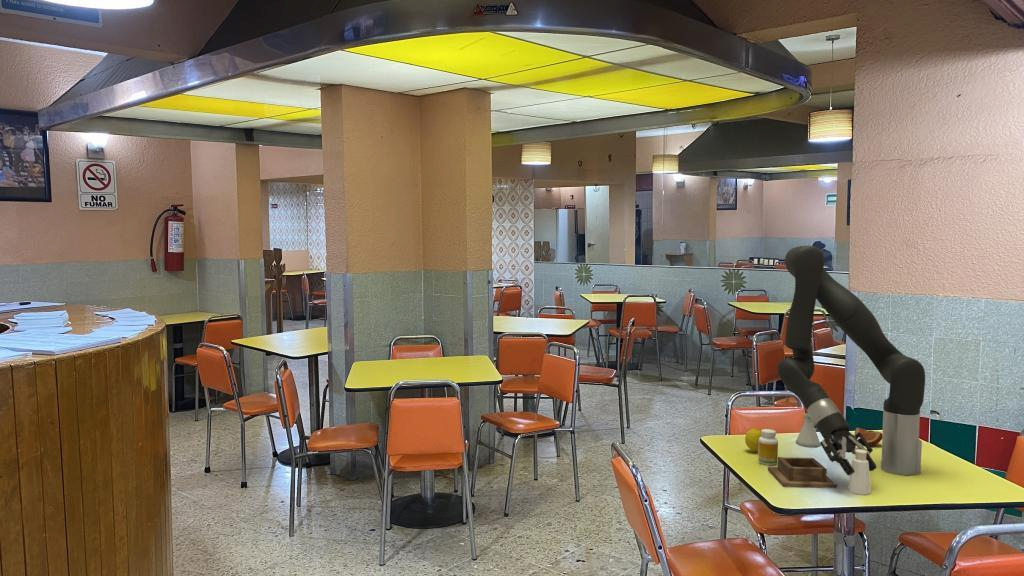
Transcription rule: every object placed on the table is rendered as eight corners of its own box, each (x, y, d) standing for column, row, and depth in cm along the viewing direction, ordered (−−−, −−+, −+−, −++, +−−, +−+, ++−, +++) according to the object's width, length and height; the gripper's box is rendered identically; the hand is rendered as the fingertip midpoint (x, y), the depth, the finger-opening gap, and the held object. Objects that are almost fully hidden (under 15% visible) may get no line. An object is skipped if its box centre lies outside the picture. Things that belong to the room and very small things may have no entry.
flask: (791, 442, 233) (792, 412, 232) (809, 440, 235) (810, 411, 234) (806, 448, 226) (807, 417, 225) (825, 446, 228) (826, 416, 227)
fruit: (744, 448, 225) (745, 423, 224) (762, 450, 223) (763, 425, 223) (745, 453, 219) (745, 428, 219) (764, 455, 218) (764, 429, 218)
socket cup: (817, 471, 203) (818, 456, 202) (836, 488, 189) (837, 471, 188) (767, 470, 204) (768, 454, 203) (783, 486, 190) (783, 470, 189)
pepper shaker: (872, 490, 187) (873, 449, 186) (869, 496, 183) (871, 454, 182) (849, 486, 190) (851, 446, 190) (846, 492, 186) (847, 451, 185)
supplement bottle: (778, 466, 207) (779, 433, 207) (759, 465, 208) (760, 432, 208) (775, 460, 213) (776, 429, 212) (756, 459, 214) (757, 427, 213)
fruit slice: (850, 443, 233) (851, 428, 232) (862, 440, 236) (862, 425, 236) (875, 449, 226) (875, 433, 225) (886, 446, 229) (887, 430, 229)
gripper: (817, 413, 189) (853, 468, 180) (854, 408, 195) (890, 461, 186) (801, 428, 194) (834, 482, 185) (836, 423, 201) (871, 475, 191)
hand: (862, 471), depth 185 cm, fingers open, 8 cm apart
